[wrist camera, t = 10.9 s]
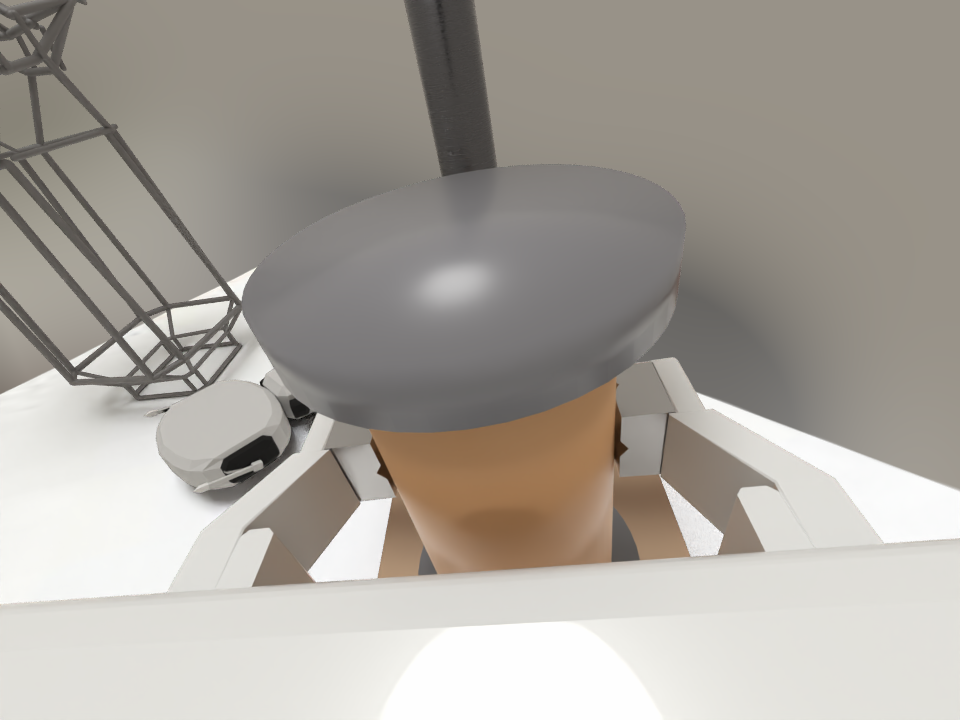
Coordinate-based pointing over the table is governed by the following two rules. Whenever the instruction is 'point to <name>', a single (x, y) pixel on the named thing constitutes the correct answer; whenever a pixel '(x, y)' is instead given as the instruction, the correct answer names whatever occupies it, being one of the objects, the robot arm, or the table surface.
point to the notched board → (631, 498)
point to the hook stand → (453, 82)
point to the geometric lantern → (63, 4)
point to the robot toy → (227, 431)
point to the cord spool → (482, 348)
